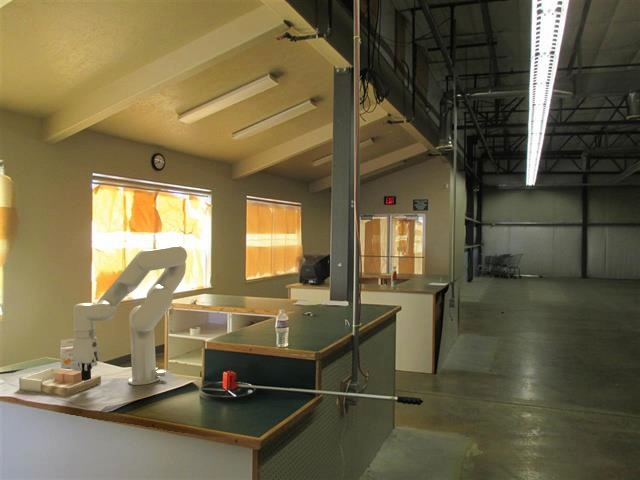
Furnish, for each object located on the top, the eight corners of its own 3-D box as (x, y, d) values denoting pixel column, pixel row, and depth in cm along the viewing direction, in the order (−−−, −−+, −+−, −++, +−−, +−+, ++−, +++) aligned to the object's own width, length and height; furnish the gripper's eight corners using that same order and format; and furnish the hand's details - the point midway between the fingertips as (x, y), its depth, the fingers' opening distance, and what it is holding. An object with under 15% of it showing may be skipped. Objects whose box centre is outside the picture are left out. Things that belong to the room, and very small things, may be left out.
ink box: (62, 375, 219) (60, 342, 219) (60, 372, 223) (59, 340, 223) (83, 371, 224) (81, 339, 223) (81, 369, 228) (80, 337, 227)
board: (100, 383, 205) (100, 376, 205) (68, 395, 191) (68, 388, 190) (74, 380, 211) (73, 373, 211) (40, 392, 196) (40, 384, 196)
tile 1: (73, 378, 204) (73, 370, 203) (63, 381, 199) (63, 373, 199) (64, 377, 205) (64, 369, 205) (54, 380, 201) (54, 372, 201)
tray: (74, 380, 211) (73, 369, 211) (40, 392, 196) (40, 380, 196) (53, 377, 215) (53, 367, 215) (19, 389, 200) (19, 378, 200)
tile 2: (83, 379, 201) (83, 371, 201) (73, 382, 197) (73, 375, 197) (74, 378, 203) (74, 370, 203) (64, 381, 199) (63, 374, 199)
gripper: (106, 333, 198) (107, 378, 198) (78, 331, 203) (80, 375, 204) (91, 337, 191) (93, 384, 191) (63, 335, 196) (64, 380, 197)
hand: (86, 379), depth 197 cm, fingers closed
